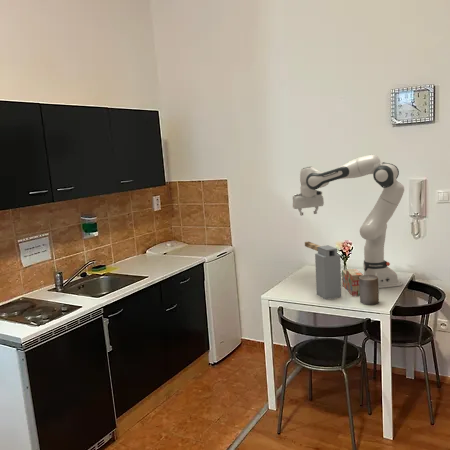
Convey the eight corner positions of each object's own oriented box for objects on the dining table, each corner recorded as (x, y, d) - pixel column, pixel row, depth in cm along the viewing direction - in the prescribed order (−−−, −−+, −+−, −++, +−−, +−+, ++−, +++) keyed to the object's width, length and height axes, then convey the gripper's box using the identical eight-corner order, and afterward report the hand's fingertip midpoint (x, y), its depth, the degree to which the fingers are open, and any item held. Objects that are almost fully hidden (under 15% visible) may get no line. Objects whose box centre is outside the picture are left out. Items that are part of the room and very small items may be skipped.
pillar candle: (379, 299, 242) (378, 272, 240) (378, 305, 233) (377, 277, 231) (360, 298, 246) (359, 272, 243) (359, 304, 237) (358, 277, 234)
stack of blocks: (342, 285, 271) (341, 265, 269) (352, 284, 271) (352, 264, 269) (352, 296, 250) (351, 275, 248) (363, 295, 250) (363, 274, 248)
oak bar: (304, 246, 273) (304, 242, 272) (308, 245, 274) (308, 241, 273) (322, 253, 252) (322, 248, 252) (327, 252, 253) (326, 248, 252)
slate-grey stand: (316, 294, 257) (314, 247, 252) (332, 291, 260) (330, 244, 255) (325, 299, 247) (323, 250, 243) (341, 296, 250) (340, 248, 246)
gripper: (294, 194, 277) (295, 216, 279) (324, 191, 282) (325, 213, 284) (290, 194, 283) (291, 215, 285) (319, 191, 288) (320, 212, 290)
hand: (308, 214), depth 285 cm, fingers open, 8 cm apart
